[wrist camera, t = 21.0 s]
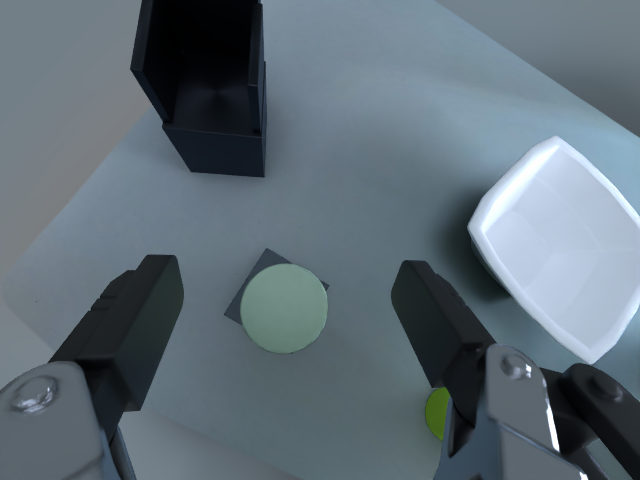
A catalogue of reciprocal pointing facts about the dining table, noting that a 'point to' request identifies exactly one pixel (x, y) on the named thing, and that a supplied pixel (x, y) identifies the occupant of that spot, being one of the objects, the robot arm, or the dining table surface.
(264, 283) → the green cylinder
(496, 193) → the bowl
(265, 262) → the coaster
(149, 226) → the dining table surface
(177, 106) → the navy chair block
